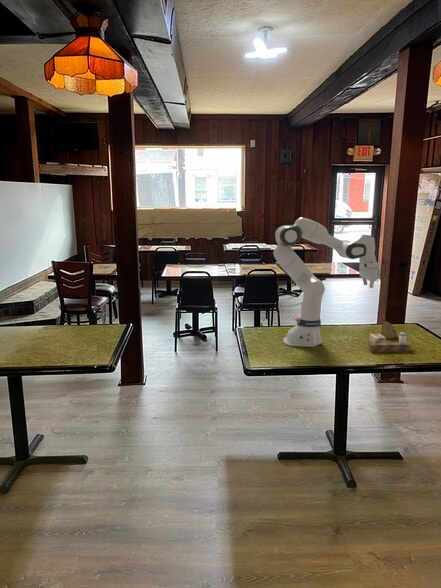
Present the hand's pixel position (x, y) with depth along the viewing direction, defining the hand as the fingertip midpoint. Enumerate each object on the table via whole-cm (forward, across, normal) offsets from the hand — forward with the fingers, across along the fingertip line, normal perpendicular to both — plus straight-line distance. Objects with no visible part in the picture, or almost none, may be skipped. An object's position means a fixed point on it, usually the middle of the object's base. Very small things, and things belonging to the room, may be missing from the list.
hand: (368, 286), depth 251 cm
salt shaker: (+34, +14, +13) cm, 39 cm away
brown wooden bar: (+33, +20, +3) cm, 39 cm away
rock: (+34, -4, +13) cm, 37 cm away
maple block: (+33, +8, +1) cm, 34 cm away
